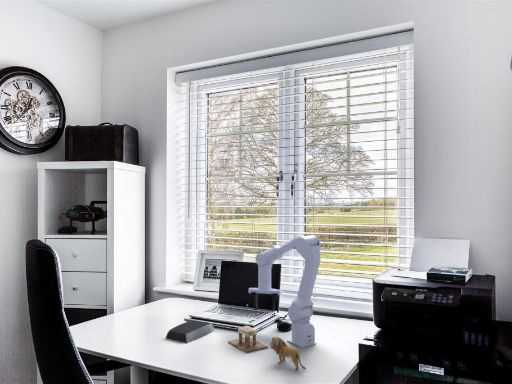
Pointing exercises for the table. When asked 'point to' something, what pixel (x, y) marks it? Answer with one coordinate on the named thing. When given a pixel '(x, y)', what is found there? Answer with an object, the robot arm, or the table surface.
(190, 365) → the table surface
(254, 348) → the walnut mat
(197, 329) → the external hard drive
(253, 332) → the birch stool
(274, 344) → the lion figurine
